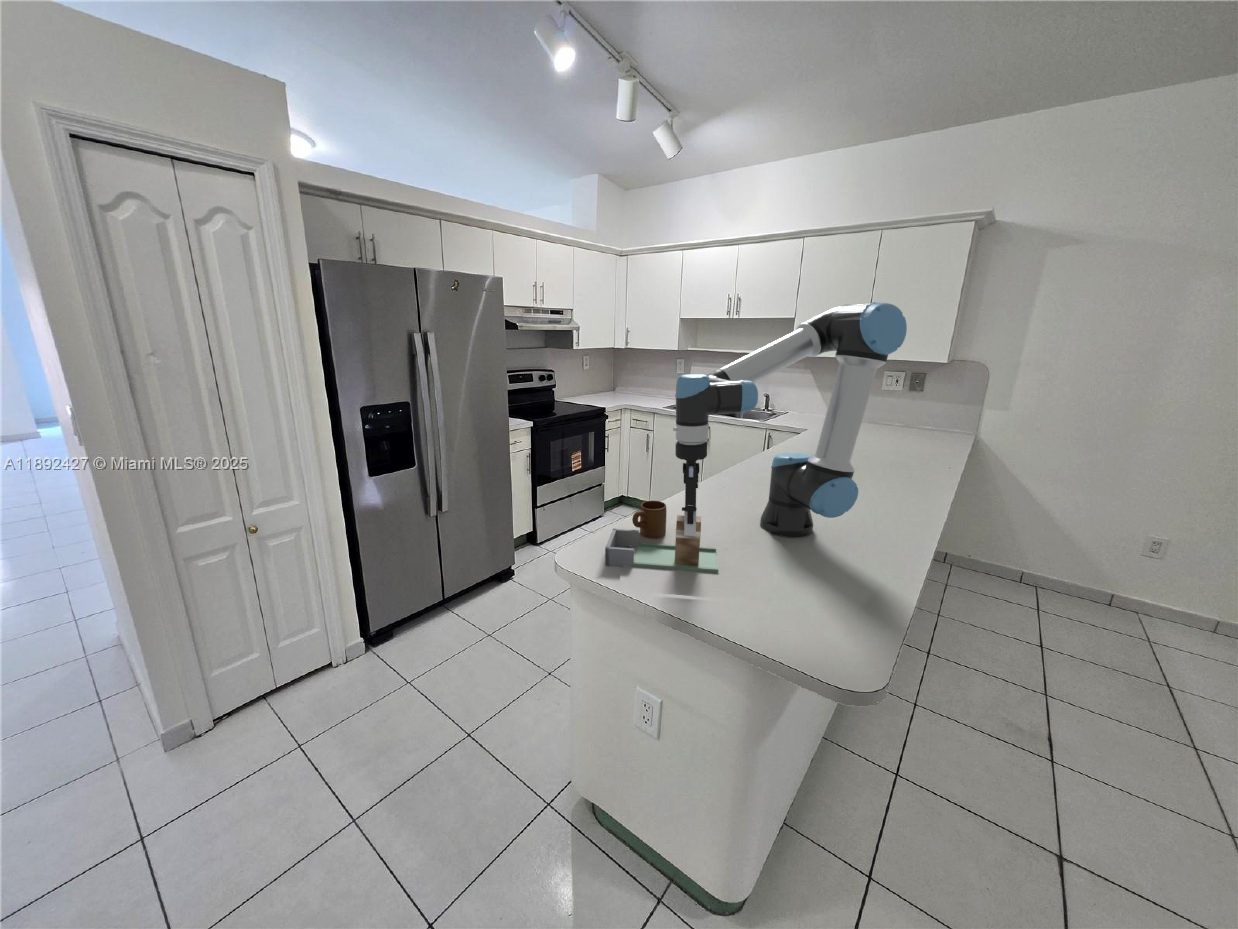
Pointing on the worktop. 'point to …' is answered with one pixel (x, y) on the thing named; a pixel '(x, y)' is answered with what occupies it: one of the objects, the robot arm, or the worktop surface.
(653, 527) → the mug
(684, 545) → the block
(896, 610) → the worktop surface
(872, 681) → the worktop surface
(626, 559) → the pitch
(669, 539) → the worktop surface
